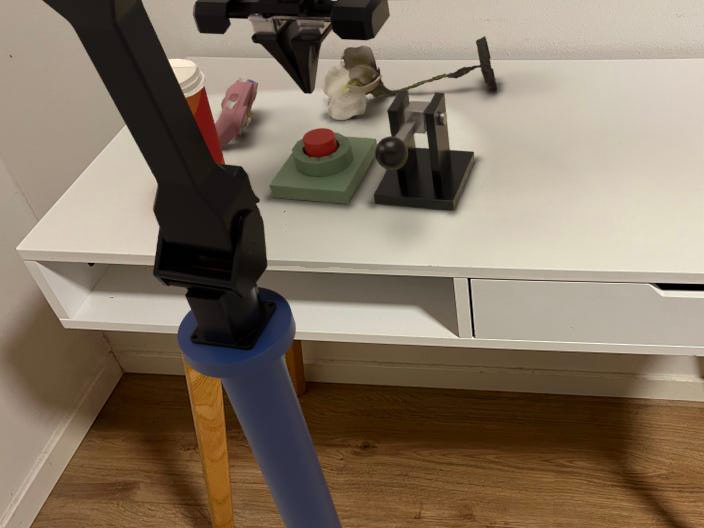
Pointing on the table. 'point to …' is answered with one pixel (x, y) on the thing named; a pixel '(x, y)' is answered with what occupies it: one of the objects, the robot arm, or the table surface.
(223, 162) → the paper cup
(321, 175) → the control block
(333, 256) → the table surface
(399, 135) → the lever
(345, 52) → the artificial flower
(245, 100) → the pink toy car
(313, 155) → the button
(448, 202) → the bracket
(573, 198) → the table surface
